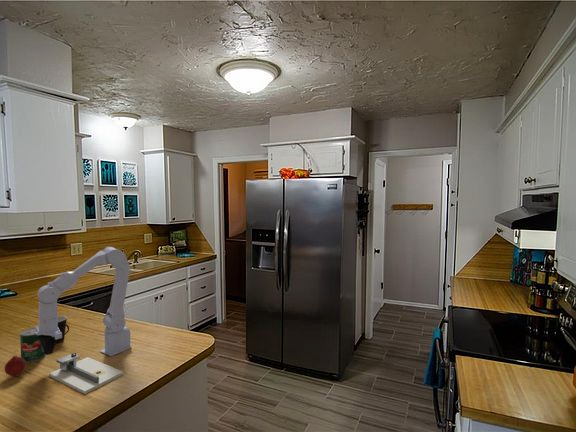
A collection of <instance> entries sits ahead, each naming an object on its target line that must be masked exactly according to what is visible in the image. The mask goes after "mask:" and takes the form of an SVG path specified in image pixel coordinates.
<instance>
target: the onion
mask: <svg viewBox="0 0 576 432" xmlns="http://www.w3.org/2000/svg"><path fill="white" fill-rule="evenodd" d="M26 366H27V365H26V362H25V361H24V359H23V358H21V356H18V355H16V354H13V355H12V358H10V359H9V360H8V361H7V362H6V364H5V366H4V371H5V374H6V375H8V376H10V377H18V376H19V375H20V374H21V373H23V371H25V369H26Z"/></svg>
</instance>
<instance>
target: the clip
mask: <svg viewBox="0 0 576 432" xmlns="http://www.w3.org/2000/svg"><path fill="white" fill-rule="evenodd" d="M80 356H81V355H79V354H77V353H76V352H73V353H70V354H68V355H65V356H62V357H60V358H58V359H55V360H56V361H55V362H56V363H57V364H59V367H60V368H59V369H61V370H63V371H65V372H68V371H69V364H71V365H74V366H76V362H77V359H80Z"/></svg>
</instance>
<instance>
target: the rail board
mask: <svg viewBox="0 0 576 432" xmlns="http://www.w3.org/2000/svg"><path fill="white" fill-rule="evenodd" d="M123 375H124V371H122V370H121V369H117V368H115V367H113V366H111V365H108V364H106V363H103V362H101V361H98V360H96V359H94V358H91V357H89V356H87V357H84V358H83V359H82V358H81V359H80V360H78V361H77V360H76V366H74V365H71V364H69V371H68V372H65V371H63V370H61V369H60V368H58V369H56V370H52V372H49V373H48V376H49V377H50V378H53V379H54V380H56V381H58V382H60V383H62V384H64V385H65V386H68V387H70V388H72V389H74V390H76V391H78V392H79V393H82V394H84V395H86V394H87V393H90V392H92V391H94V390H96V389H99V388H100V387H101V386H104V385H105V384H108V383H109V382H111V381H113V380H116V379H118V378H119V377H121V376H123Z"/></svg>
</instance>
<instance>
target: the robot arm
mask: <svg viewBox="0 0 576 432" xmlns="http://www.w3.org/2000/svg"><path fill="white" fill-rule="evenodd" d="M108 264H110V265H111V266H112V267H113V268H114V269H115V275H114V281H113V287H112V293H111V297H110V303H109V307H108V309H107V311H106V314H105V315H104V317H103V319H102V323H103V325H104V326H105V329H104V349H100V351H99V352H100V353H102V354H105V355H108V356H110V357H113V356H115V355H117V354H120V353H121V352H124V351H127V350H130V349H132V345H131V330H130V328H129V327H128V326H126V320H125V316H126V314H125V310H124V306H125V299H126V294H127V288H128V283H129V277H130V271H131V265H130V263H129V261H128V258H127V255H126V254H125V252H123V251H122V250H121V249H118V248H115V247H113V246H106V247H104V248H103V249H102V250H99V251H98V252H97V253H95V254H94V255H93V256H91V257H89V259H87V260H86V261H85V262H83V263H82V264H81V265H79V266H78V267H77V268H75V269H74V270H72V271H66V272H61V273H60V274H59V275H60V276H59V277H57V278H55V279H53V280H52V281H49V282H47V284H45V285H43V286H41V287H40V288H39V289H38V291H37V293H36V296H37V298H38V299H39V300H38V325H35V327H34V328H35V331H36V333H35V335H40V336H38V337H37V338H38V339H39V341H40V342H41V344H42V347H43V350H44V353H45V354H46V355H50V354H53V353H54V349H55V345H56V344H55V343H56V341H57V339H60V338H62V332H60V330H59V328H58V315H59V314H58V299H59V297H60V295H62V294H63V293H65V292H66V291H68V290H69V289H71V288H72V287H74V285H76V284H77V283H78V280H79V278H80V277H82V276H83V275H85V274H87V273H88V272H91V271H92V270H93V269H95V268H96V267H97V266H107V265H108ZM46 355H45V356H46Z"/></svg>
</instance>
